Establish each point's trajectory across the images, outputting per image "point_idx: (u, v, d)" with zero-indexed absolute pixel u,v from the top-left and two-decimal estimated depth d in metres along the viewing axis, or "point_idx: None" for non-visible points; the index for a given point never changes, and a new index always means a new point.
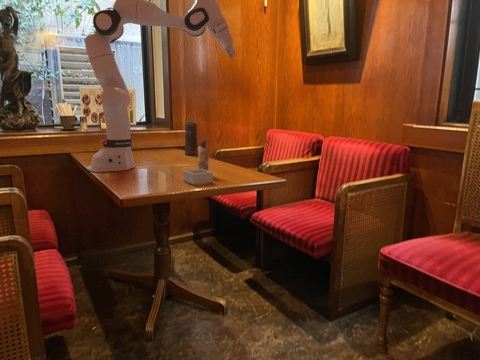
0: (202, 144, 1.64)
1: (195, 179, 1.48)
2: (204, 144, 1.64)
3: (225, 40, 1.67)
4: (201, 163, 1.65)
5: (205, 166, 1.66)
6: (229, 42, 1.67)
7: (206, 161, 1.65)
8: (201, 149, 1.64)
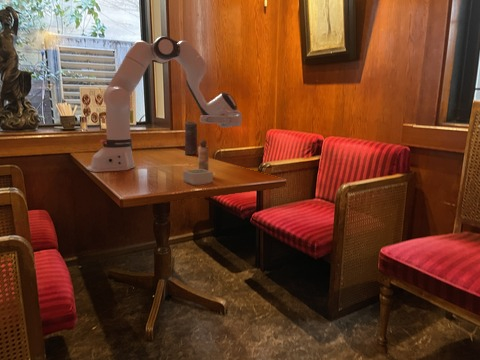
0: (202, 144, 1.64)
1: (195, 179, 1.48)
2: (204, 144, 1.64)
3: (239, 117, 1.77)
4: (201, 163, 1.65)
5: (205, 166, 1.66)
6: (238, 120, 1.76)
7: (206, 161, 1.65)
8: (201, 149, 1.64)
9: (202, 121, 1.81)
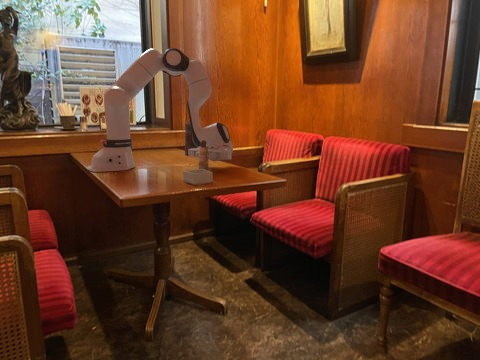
0: (202, 144, 1.64)
1: (195, 179, 1.48)
2: (204, 144, 1.64)
3: (229, 152, 1.69)
4: (201, 163, 1.65)
5: (205, 166, 1.66)
6: (227, 155, 1.67)
7: (206, 161, 1.65)
8: (201, 149, 1.64)
9: (190, 155, 1.73)
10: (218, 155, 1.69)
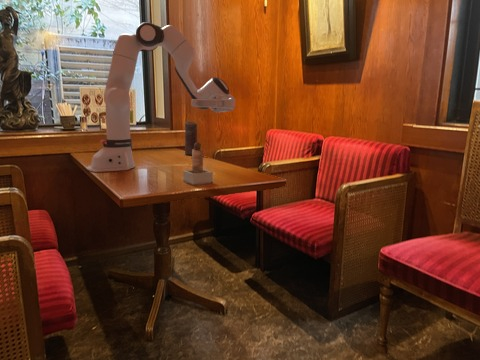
0: (196, 147, 1.50)
1: (195, 179, 1.48)
2: (198, 147, 1.50)
3: (232, 101, 1.69)
4: (195, 167, 1.51)
5: (199, 171, 1.52)
6: (230, 103, 1.68)
7: (200, 165, 1.51)
8: (195, 152, 1.50)
9: (193, 105, 1.73)
10: None
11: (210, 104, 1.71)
